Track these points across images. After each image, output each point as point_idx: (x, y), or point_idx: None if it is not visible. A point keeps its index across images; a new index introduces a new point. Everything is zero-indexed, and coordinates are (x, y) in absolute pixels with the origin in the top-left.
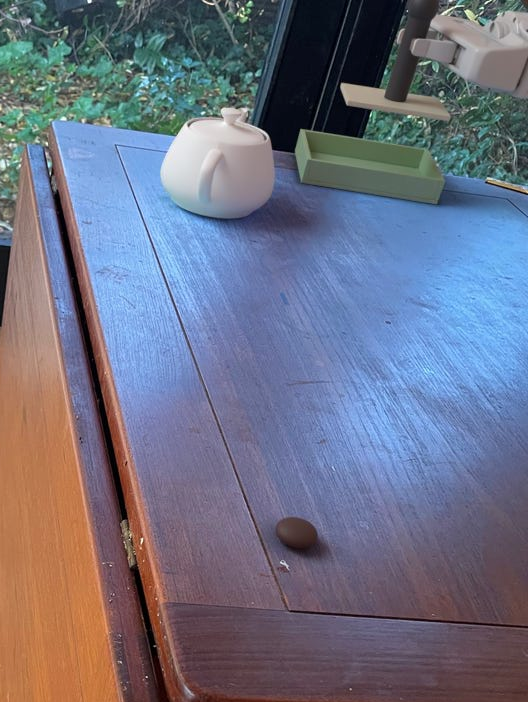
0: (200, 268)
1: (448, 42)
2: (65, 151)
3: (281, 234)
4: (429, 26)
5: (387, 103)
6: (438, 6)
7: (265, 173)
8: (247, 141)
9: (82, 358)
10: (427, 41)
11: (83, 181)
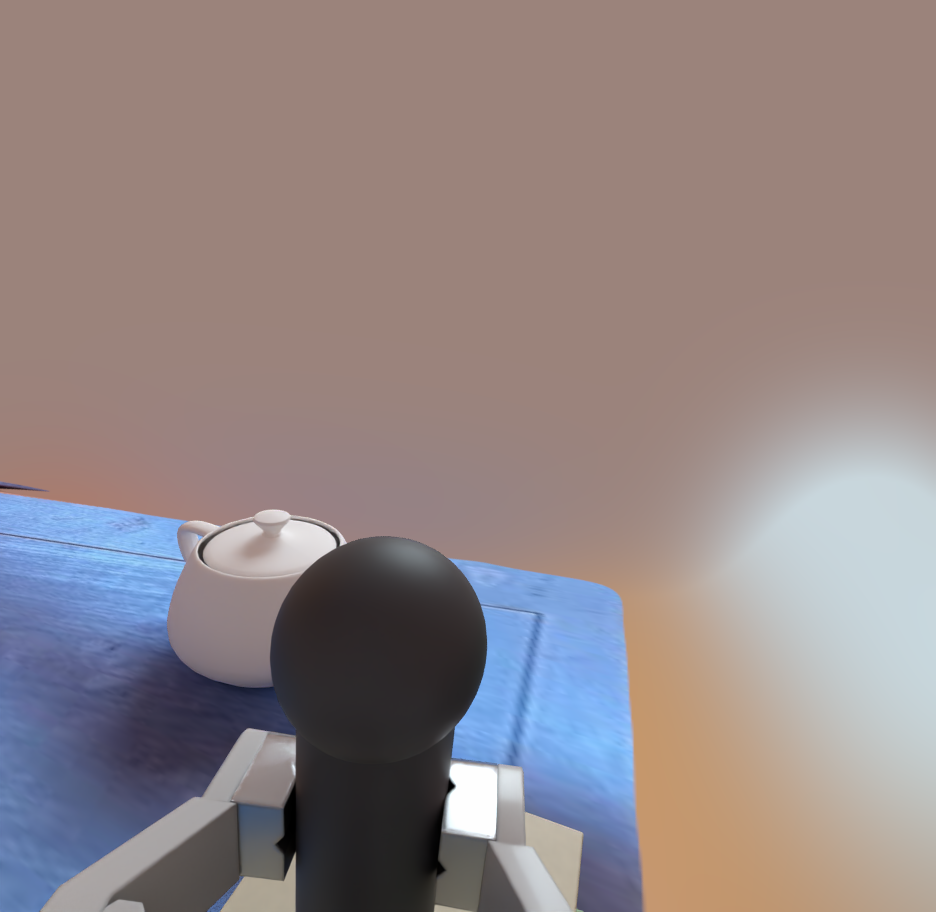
0: (85, 574)
1: (61, 908)
2: (491, 567)
3: (110, 695)
4: (312, 776)
5: (285, 909)
6: (286, 666)
7: (175, 602)
8: (211, 545)
9: (10, 485)
10: (214, 786)
11: None
